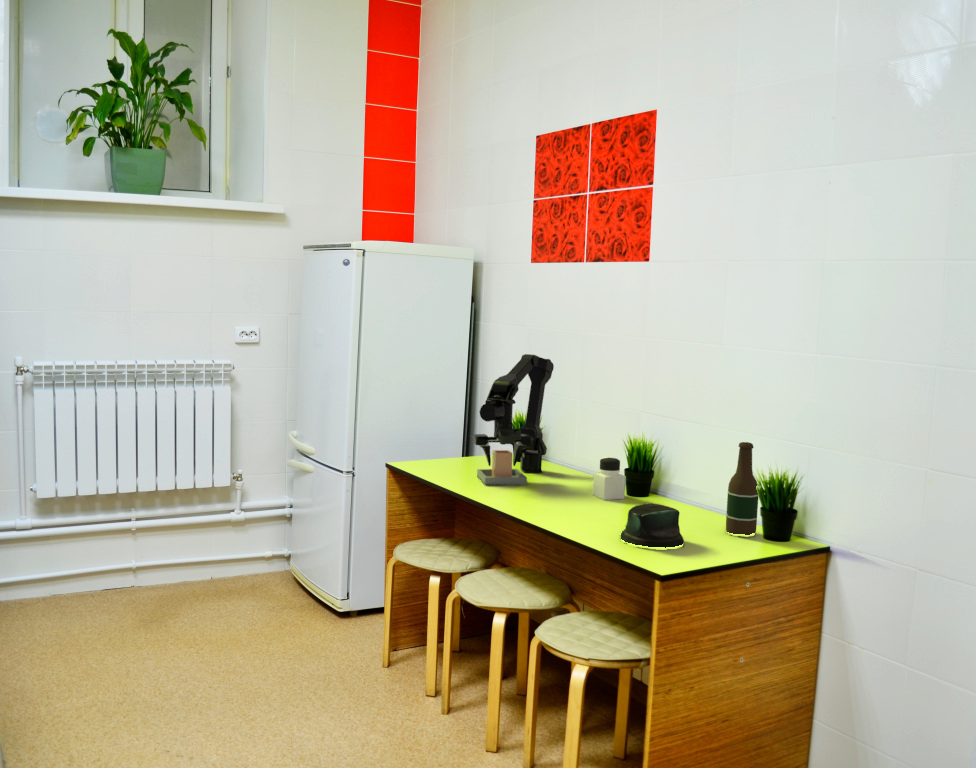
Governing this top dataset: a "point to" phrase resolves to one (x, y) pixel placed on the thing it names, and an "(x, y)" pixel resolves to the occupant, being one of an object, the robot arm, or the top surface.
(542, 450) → the robot arm
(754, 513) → the beer bottle
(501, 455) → the terracotta cup
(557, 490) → the top surface
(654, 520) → the dark green bucket hat
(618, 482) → the medicine bottle
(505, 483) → the tray
